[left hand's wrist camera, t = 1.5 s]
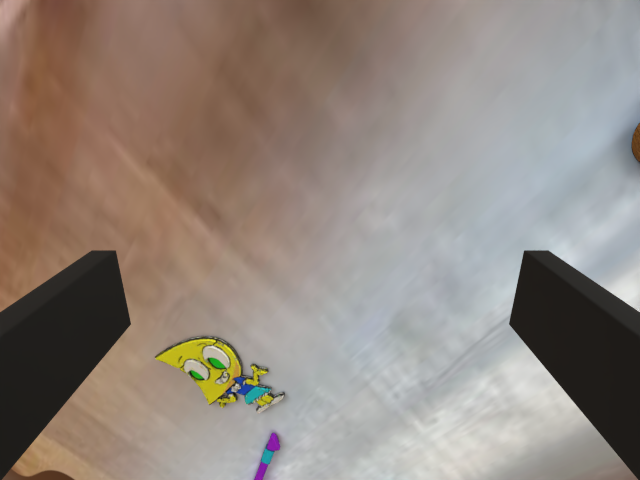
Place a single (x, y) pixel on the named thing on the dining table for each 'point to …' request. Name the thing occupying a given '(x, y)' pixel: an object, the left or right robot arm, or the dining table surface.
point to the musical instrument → (267, 456)
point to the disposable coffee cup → (636, 143)
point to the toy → (218, 371)
